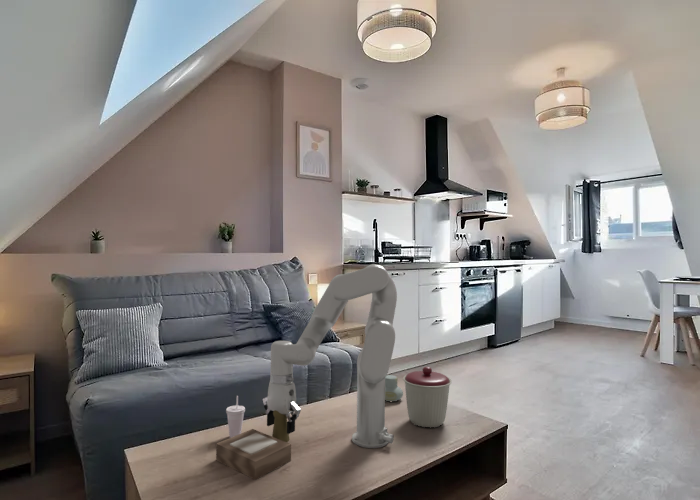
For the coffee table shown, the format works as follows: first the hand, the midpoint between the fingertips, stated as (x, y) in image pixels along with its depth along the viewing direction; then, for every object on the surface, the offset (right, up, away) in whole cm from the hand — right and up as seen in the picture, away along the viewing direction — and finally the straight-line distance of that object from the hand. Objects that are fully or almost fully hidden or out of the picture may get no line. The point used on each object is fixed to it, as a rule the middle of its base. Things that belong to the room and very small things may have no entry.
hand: (280, 428), depth 142 cm
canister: (+53, -5, +17) cm, 55 cm away
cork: (0, -4, 0) cm, 4 cm away
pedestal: (-6, -4, -14) cm, 16 cm away
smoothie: (-16, -4, +2) cm, 17 cm away
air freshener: (+41, -5, +41) cm, 59 cm away
